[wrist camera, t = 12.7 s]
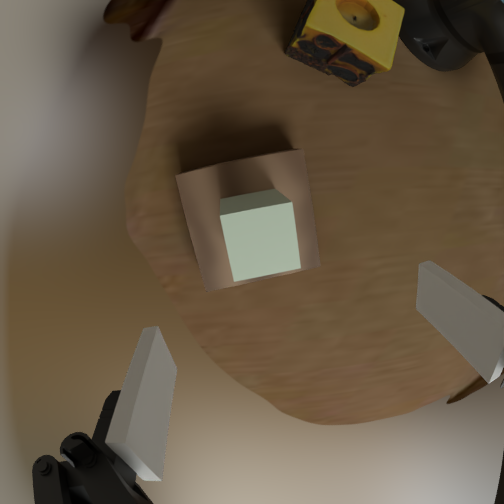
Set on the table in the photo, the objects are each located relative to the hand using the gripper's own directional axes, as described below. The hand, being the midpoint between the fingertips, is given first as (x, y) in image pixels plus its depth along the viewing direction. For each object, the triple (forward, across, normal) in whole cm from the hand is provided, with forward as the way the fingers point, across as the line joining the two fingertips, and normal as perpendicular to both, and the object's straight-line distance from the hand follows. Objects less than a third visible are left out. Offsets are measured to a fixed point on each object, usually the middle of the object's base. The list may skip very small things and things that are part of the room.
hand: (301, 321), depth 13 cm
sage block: (+20, 0, 0) cm, 20 cm away
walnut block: (+25, 0, 0) cm, 25 cm away
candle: (+25, -15, -21) cm, 36 cm away
